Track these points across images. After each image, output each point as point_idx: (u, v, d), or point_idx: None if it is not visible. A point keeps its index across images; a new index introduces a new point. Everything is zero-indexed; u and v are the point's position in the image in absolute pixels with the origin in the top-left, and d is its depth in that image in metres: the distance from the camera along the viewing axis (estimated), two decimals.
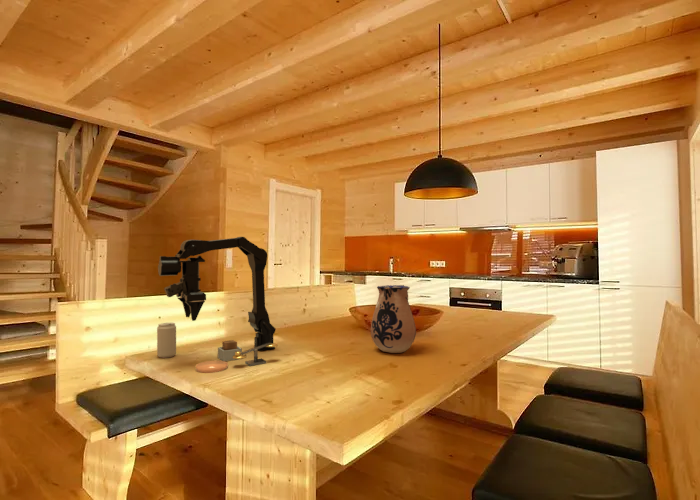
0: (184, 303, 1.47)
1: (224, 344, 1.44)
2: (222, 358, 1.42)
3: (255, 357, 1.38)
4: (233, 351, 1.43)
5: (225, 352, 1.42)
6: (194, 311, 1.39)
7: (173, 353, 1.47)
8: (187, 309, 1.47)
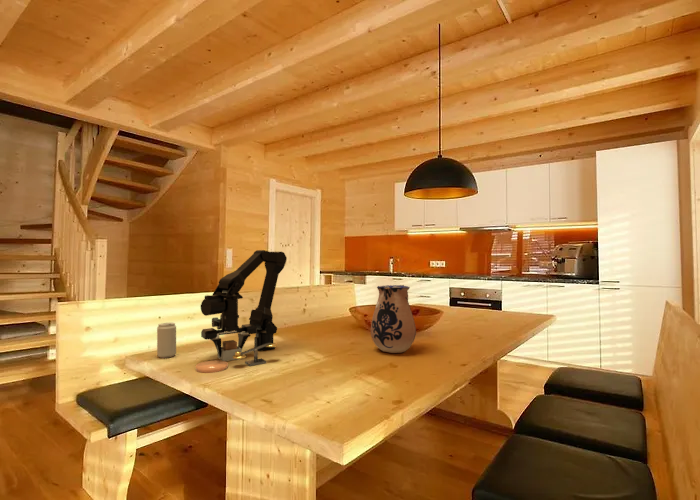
0: (238, 339, 1.49)
1: (224, 344, 1.44)
2: (222, 358, 1.42)
3: (255, 357, 1.38)
4: (233, 351, 1.43)
5: (225, 352, 1.42)
6: (216, 347, 1.43)
7: (173, 353, 1.47)
8: (239, 346, 1.48)
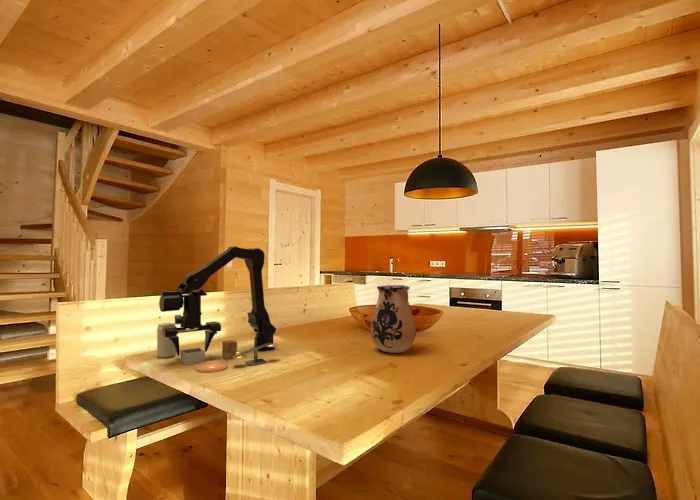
0: (205, 336, 1.46)
1: (224, 344, 1.44)
2: (184, 361, 1.38)
3: (255, 357, 1.38)
4: (195, 354, 1.40)
5: (187, 355, 1.38)
6: (174, 346, 1.39)
7: (173, 353, 1.47)
8: (205, 343, 1.45)
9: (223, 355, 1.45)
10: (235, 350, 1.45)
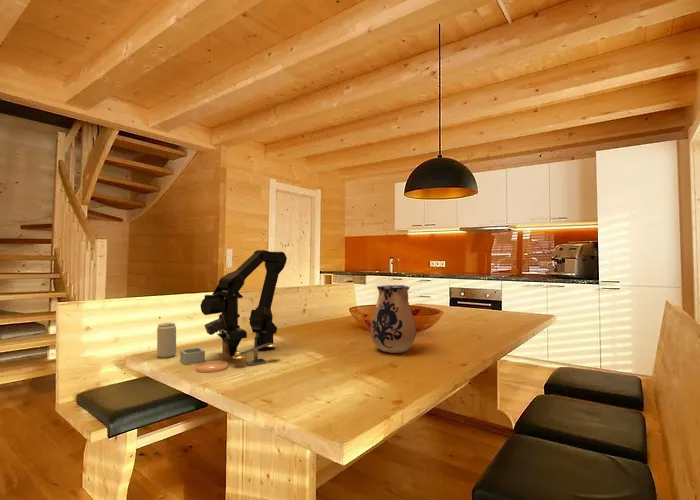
0: (224, 339, 1.47)
1: (224, 344, 1.44)
2: (184, 361, 1.38)
3: (255, 357, 1.38)
4: (195, 354, 1.40)
5: (187, 355, 1.38)
6: (232, 347, 1.43)
7: (173, 353, 1.47)
8: None
9: (223, 355, 1.45)
10: None
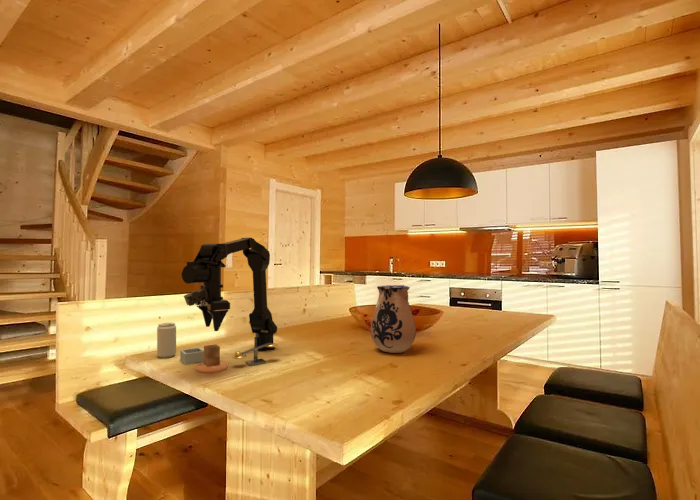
0: (204, 312, 1.37)
1: (205, 349, 1.32)
2: (184, 361, 1.38)
3: (255, 357, 1.38)
4: (195, 354, 1.40)
5: (187, 355, 1.38)
6: (217, 321, 1.29)
7: (173, 353, 1.47)
8: (207, 318, 1.37)
9: (204, 361, 1.33)
10: (218, 356, 1.32)
